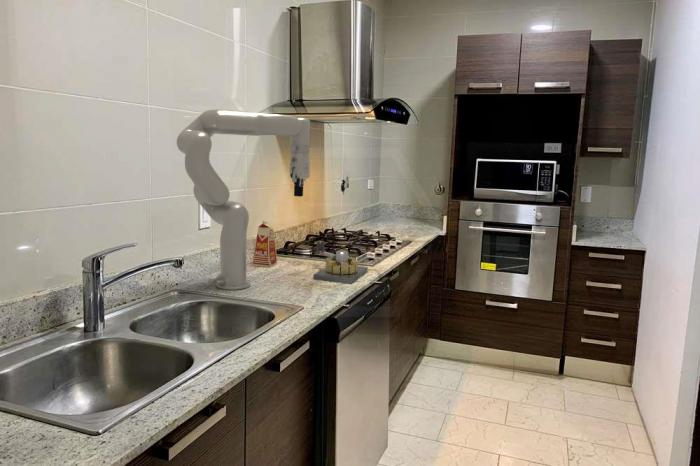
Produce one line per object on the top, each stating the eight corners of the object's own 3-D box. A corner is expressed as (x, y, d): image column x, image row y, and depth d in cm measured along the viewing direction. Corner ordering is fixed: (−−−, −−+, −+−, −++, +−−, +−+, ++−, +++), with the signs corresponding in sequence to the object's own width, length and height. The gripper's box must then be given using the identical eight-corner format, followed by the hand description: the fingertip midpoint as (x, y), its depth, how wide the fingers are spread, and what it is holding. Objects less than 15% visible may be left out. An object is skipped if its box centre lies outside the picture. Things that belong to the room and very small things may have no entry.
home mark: (327, 270, 223) (327, 269, 223) (324, 271, 222) (324, 270, 222) (318, 267, 227) (318, 267, 227) (315, 268, 226) (315, 267, 226)
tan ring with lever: (364, 271, 215) (365, 248, 213) (339, 275, 206) (340, 251, 205) (329, 260, 232) (330, 239, 230) (305, 264, 223) (306, 242, 221)
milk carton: (271, 267, 225) (271, 222, 221) (251, 265, 227) (251, 220, 223) (278, 263, 234) (278, 219, 230) (258, 261, 235) (259, 218, 232)
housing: (350, 284, 203) (351, 259, 201) (313, 279, 208) (313, 255, 207) (367, 271, 224) (368, 249, 222) (333, 267, 229) (333, 245, 227)
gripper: (300, 150, 196) (299, 198, 199) (315, 150, 210) (314, 195, 213) (282, 149, 198) (281, 197, 201) (298, 149, 212) (297, 194, 215)
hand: (298, 196), depth 207 cm, fingers closed
